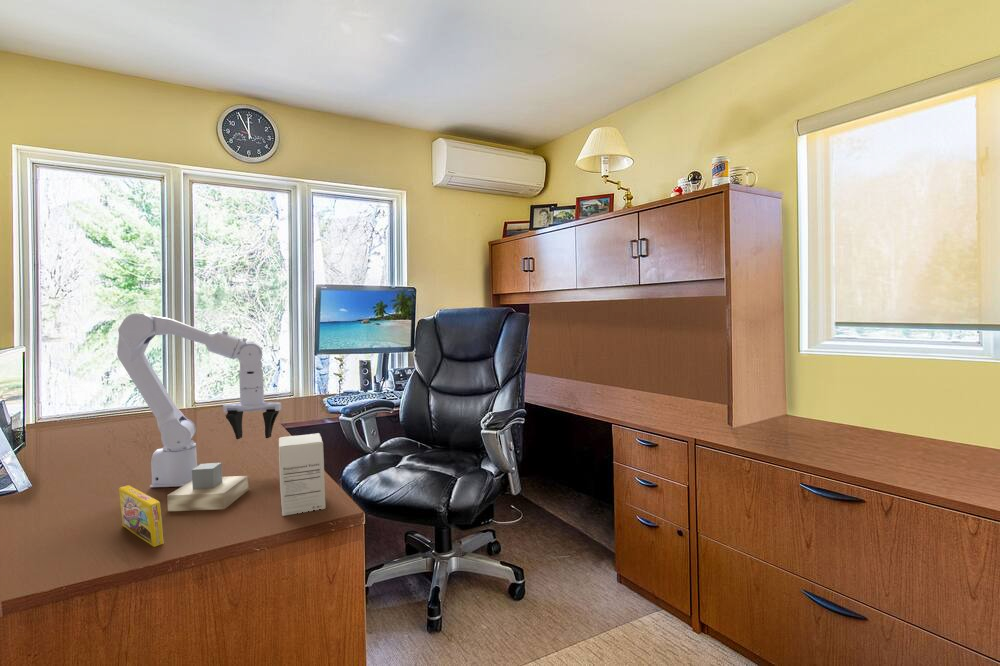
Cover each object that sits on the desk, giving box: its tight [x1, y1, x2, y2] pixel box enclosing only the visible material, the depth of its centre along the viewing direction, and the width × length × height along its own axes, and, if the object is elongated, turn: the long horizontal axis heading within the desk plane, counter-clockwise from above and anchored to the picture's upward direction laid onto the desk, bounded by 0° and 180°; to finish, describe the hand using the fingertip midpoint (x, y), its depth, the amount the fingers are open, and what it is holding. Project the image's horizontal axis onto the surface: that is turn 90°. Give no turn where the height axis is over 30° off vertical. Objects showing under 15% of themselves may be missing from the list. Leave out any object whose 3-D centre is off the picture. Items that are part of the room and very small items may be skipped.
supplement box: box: [278, 432, 327, 517], centre depth 113 cm, size 9×9×15 cm
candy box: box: [118, 484, 165, 548], centre depth 100 cm, size 16×2×8 cm, turn 53°
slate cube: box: [192, 462, 223, 490], centre depth 118 cm, size 4×4×4 cm
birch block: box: [166, 475, 249, 512], centre depth 118 cm, size 12×12×4 cm
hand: (253, 437), depth 138 cm, fingers open, 7 cm apart
